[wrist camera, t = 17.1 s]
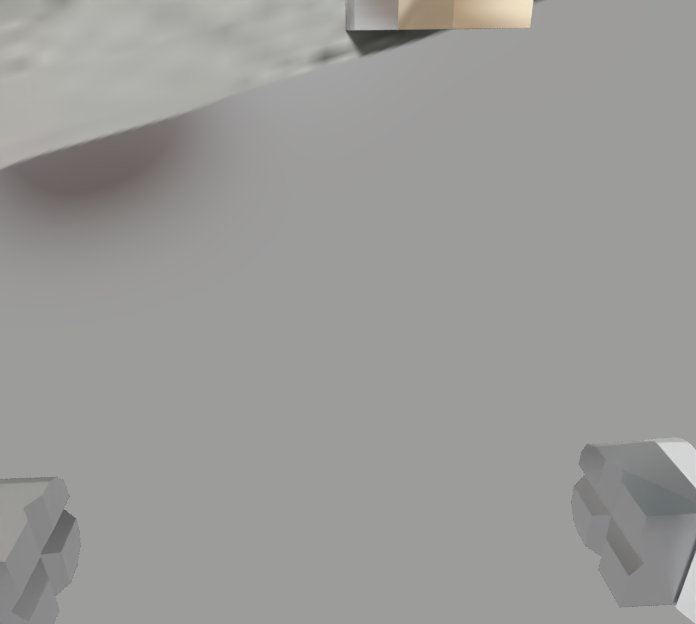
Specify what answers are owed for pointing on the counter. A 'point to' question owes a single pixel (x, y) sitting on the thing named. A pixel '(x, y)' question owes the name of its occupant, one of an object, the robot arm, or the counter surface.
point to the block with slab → (437, 14)
